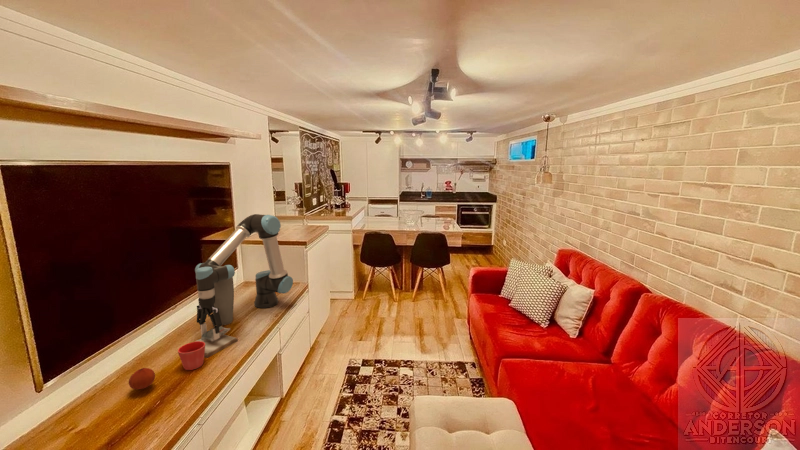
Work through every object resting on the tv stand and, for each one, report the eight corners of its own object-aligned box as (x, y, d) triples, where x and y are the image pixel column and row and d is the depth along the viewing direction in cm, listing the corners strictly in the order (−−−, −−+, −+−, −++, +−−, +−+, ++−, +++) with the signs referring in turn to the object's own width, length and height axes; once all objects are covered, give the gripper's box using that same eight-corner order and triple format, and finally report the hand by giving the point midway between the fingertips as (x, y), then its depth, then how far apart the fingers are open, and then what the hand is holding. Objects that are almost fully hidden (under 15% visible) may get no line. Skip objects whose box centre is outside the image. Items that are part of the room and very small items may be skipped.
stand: (214, 334, 183) (214, 331, 183) (237, 340, 176) (237, 337, 176) (183, 350, 167) (182, 346, 166) (207, 357, 160) (206, 354, 160)
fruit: (132, 384, 140) (129, 367, 138) (157, 378, 144) (155, 361, 143) (127, 396, 132) (124, 378, 131) (154, 389, 136) (151, 372, 135)
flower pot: (182, 362, 156) (180, 343, 155) (208, 357, 160) (206, 339, 159) (177, 374, 147) (175, 354, 145) (205, 368, 151) (203, 349, 149)
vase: (208, 327, 192) (203, 279, 187) (221, 318, 204) (217, 273, 199) (227, 328, 190) (223, 280, 186) (240, 319, 202) (236, 273, 198)
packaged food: (231, 332, 178) (229, 324, 177) (212, 344, 167) (211, 336, 166) (219, 331, 181) (217, 323, 180) (200, 342, 170) (198, 334, 169)
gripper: (185, 296, 168) (190, 336, 171) (214, 302, 160) (218, 344, 163) (199, 291, 175) (203, 330, 178) (227, 297, 167) (231, 337, 170)
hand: (210, 337), depth 171 cm, fingers closed on packaged food, 9 cm apart
